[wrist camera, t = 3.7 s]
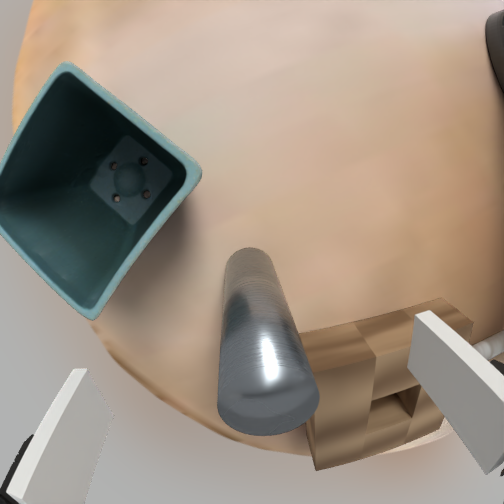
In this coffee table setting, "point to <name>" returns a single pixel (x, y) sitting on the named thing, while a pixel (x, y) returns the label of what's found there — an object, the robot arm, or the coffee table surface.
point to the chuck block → (374, 384)
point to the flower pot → (87, 188)
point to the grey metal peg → (261, 352)
